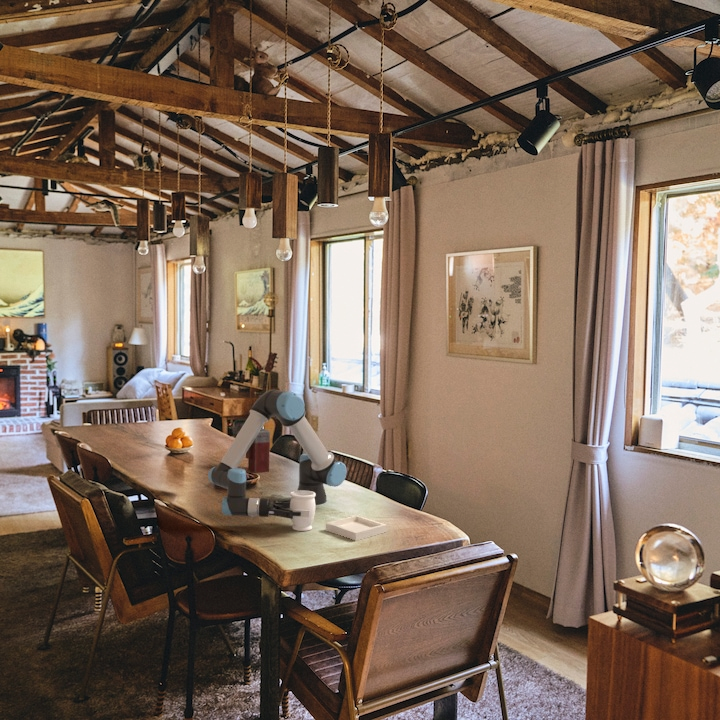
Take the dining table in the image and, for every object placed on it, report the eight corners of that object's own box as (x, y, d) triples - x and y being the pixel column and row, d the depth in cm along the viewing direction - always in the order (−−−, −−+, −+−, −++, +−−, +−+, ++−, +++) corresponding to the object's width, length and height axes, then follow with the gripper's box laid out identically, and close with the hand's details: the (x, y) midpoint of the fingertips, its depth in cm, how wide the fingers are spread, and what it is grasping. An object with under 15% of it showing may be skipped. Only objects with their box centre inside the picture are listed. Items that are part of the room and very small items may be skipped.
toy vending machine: (244, 470, 397) (245, 421, 396) (262, 468, 404) (263, 420, 402) (251, 473, 390) (252, 423, 388) (269, 471, 396) (270, 422, 395)
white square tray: (356, 522, 305) (356, 515, 304) (386, 532, 292) (387, 524, 292) (325, 530, 292) (325, 522, 292) (355, 541, 279) (355, 533, 279)
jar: (318, 526, 297) (319, 491, 296) (309, 533, 287) (310, 497, 286) (294, 523, 300) (295, 488, 299) (285, 530, 290) (286, 494, 289)
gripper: (263, 508, 306) (312, 509, 306) (254, 525, 281) (307, 526, 281) (264, 491, 305) (313, 492, 305) (255, 506, 281) (308, 508, 280)
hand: (310, 509), depth 293 cm, fingers open, 13 cm apart
